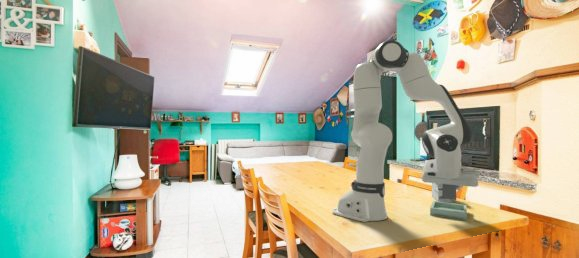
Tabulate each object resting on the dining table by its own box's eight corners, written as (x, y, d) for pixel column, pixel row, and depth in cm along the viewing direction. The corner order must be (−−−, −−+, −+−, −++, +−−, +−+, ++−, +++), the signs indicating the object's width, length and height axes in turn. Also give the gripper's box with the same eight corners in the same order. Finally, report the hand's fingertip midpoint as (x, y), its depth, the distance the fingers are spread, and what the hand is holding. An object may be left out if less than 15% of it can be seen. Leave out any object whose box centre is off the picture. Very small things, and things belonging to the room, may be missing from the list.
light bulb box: (452, 202, 134) (452, 180, 134) (437, 202, 136) (438, 180, 136) (444, 197, 145) (445, 176, 145) (431, 196, 146) (431, 176, 146)
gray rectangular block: (442, 198, 117) (442, 179, 117) (443, 195, 121) (443, 177, 121) (456, 200, 114) (456, 180, 114) (456, 197, 119) (456, 178, 119)
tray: (430, 214, 116) (430, 207, 116) (432, 207, 127) (432, 200, 127) (466, 220, 109) (466, 213, 109) (466, 212, 120) (466, 205, 120)
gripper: (479, 163, 106) (478, 184, 114) (421, 160, 117) (424, 179, 125) (480, 176, 102) (479, 197, 110) (420, 172, 113) (422, 191, 121)
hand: (449, 187), depth 118 cm, fingers closed on gray rectangular block, 5 cm apart
